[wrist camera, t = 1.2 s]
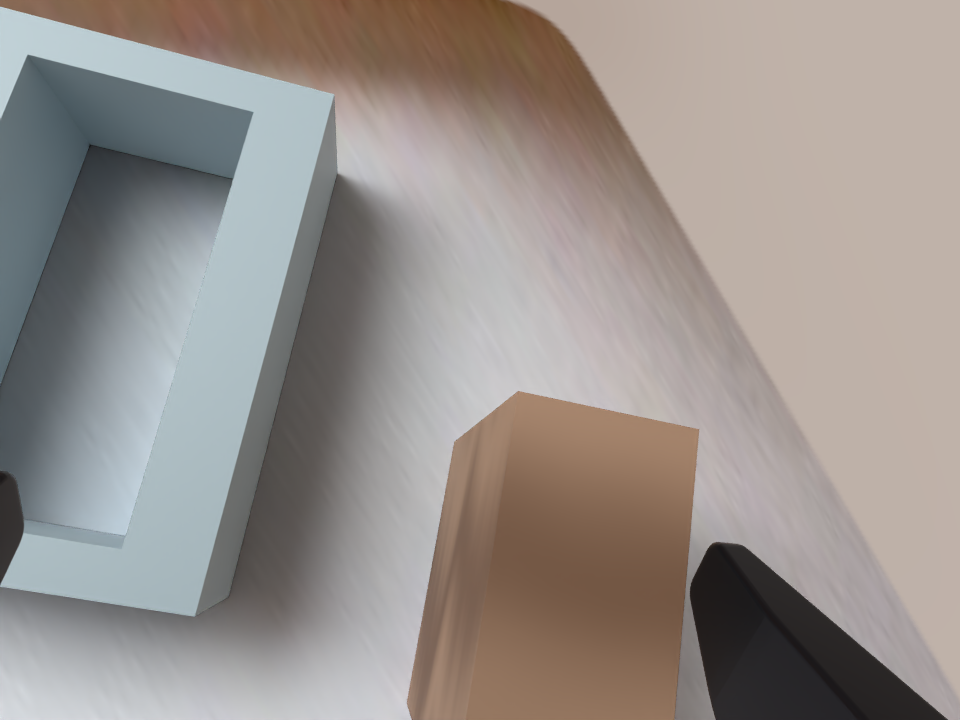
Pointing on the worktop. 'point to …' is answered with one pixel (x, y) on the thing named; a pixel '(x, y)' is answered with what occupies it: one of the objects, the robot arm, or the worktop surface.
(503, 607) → the brown rectangular block
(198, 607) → the light blue tray
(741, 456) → the worktop surface
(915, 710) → the robot arm
